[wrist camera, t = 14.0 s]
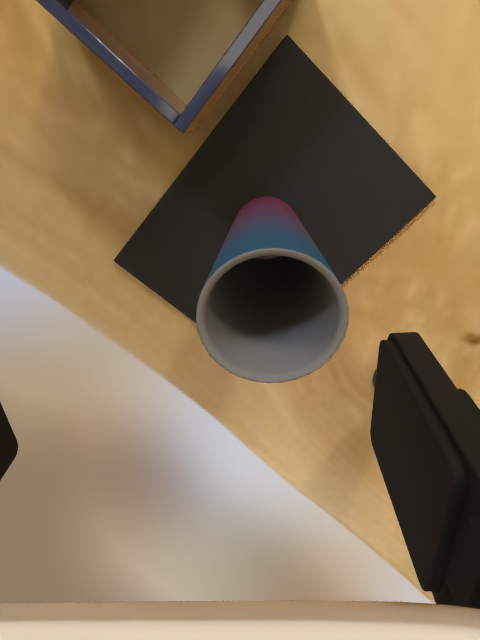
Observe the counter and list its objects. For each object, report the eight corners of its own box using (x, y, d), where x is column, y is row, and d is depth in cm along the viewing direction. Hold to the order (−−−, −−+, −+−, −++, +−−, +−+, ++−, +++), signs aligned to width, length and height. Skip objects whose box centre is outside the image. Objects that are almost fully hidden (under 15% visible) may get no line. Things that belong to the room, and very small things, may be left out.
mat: (114, 259, 34) (113, 260, 34) (286, 35, 27) (287, 34, 26) (252, 363, 38) (252, 366, 38) (434, 195, 31) (436, 196, 30)
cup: (286, 284, 34) (305, 402, 21) (208, 251, 33) (175, 353, 20) (326, 206, 31) (378, 285, 18) (242, 168, 30) (230, 221, 17)
